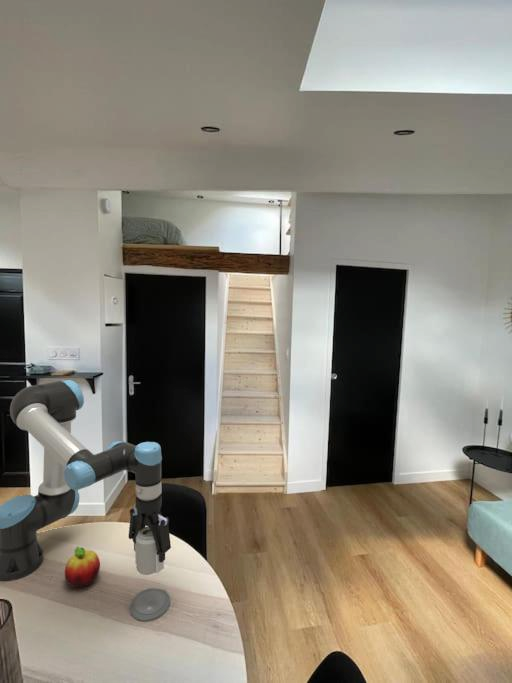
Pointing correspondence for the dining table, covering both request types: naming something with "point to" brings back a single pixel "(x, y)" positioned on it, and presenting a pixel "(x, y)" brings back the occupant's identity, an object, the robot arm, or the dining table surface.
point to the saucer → (149, 604)
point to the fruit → (82, 567)
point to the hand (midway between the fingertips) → (149, 565)
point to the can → (145, 552)
